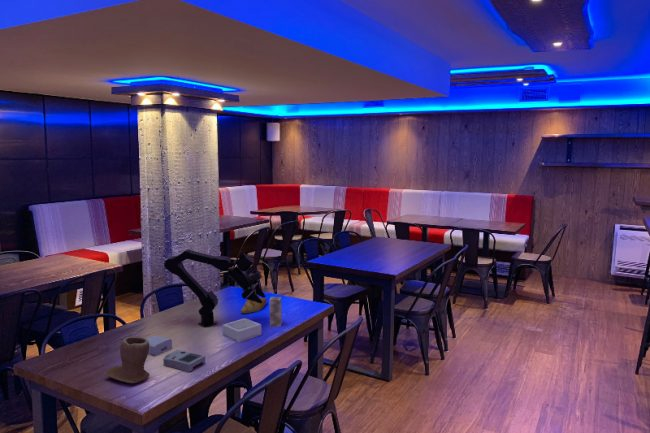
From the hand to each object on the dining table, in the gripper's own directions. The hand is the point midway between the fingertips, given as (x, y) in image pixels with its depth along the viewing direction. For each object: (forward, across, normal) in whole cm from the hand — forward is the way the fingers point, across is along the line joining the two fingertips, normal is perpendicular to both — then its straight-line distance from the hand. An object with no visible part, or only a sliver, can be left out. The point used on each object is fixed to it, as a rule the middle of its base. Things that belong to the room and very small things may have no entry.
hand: (263, 300), depth 240 cm
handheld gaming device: (-9, -45, +26) cm, 53 cm away
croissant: (+2, +24, +16) cm, 29 cm away
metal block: (+13, 0, +5) cm, 14 cm away
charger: (-22, -30, +40) cm, 54 cm away
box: (+3, -14, +14) cm, 20 cm away
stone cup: (-20, -57, +38) cm, 71 cm away
